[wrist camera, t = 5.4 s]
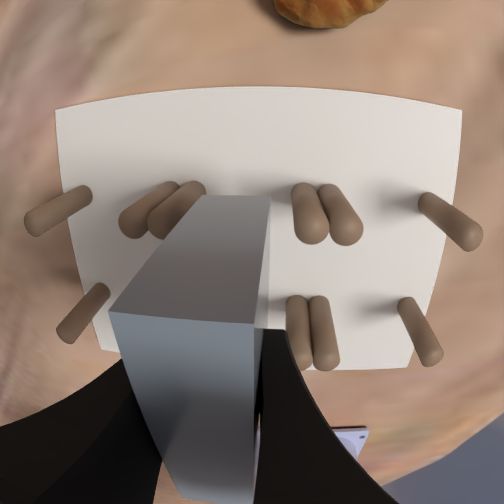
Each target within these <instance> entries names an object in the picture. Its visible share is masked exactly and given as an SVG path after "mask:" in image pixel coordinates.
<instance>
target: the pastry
mask: <svg viewBox="0 0 504 504" xmlns="http://www.w3.org/2000/svg"><path fill="white" fill-rule="evenodd" d="M386 1H388V0H273V2H274V6H275V9H276V11H277V12H278V13H279V14H280V15H281V16H283V17H285V18H286V19H288V20H289V21H291V22H293V23H296V24H298V25H302V26H307V27H311V28H345V27H347V26H348V25H349V24H351V23H352V22H354V21H355V20H357V19H358V18H359V17H361V16H363V15H366V14H368V13H372V12H374V11H376V10H377V9H378V8H380V7H381V6H382V5H384V3H385V2H386Z"/></svg>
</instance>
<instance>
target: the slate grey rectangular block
mask: <svg viewBox="0 0 504 504" xmlns="http://www.w3.org/2000/svg"><path fill="white" fill-rule="evenodd" d="M270 214H271V196H240V195H202V196H201V197H200V198H199V199H198V200H197V201H196V202H195V204H194V205H193V206H192V207H191V208H190V209H189V210H188V212H187V213H186V214H185V215H184V216H183V217H182V219H181V220H180V221H179V222H178V223H177V225H176V226H175V227H174V228H173V229H172V231H171V232H170V233H169V234H168V235H167V237H166V238H165V239H164V240H163V241H162V243H161V244H160V245H159V246H158V247H157V249H156V250H155V251H154V252H153V254H152V255H151V256H150V257H149V259H148V260H147V261H146V262H145V264H144V265H143V266H142V267H141V269H140V270H139V271H138V272H137V274H136V275H135V276H134V277H133V279H132V280H131V281H130V283H129V284H128V285H127V286H126V288H125V289H124V290H123V292H122V293H121V294H120V295H119V297H118V298H117V299H116V301H115V302H114V303H113V305H112V306H111V307H110V309H109V310H108V314H109V318H110V321H111V325H112V328H113V331H114V335H115V338H116V341H117V344H118V348H119V351H120V354H121V357H122V360H123V363H124V366H125V369H126V372H127V374H128V377H129V380H130V383H131V386H132V388H133V391H134V394H135V396H136V399H137V402H138V404H139V407H140V409H141V412H142V414H143V417H144V419H145V421H146V424H147V426H148V429H149V431H150V433H151V436H152V438H153V440H154V442H155V445H156V447H157V449H158V451H159V453H160V456H161V458H162V460H163V462H164V464H165V466H166V468H167V470H168V472H169V474H170V476H171V478H172V480H173V482H174V484H175V486H176V488H177V490H178V492H179V494H180V495H181V497H182V498H186V499H192V500H198V501H204V502H211V503H219V504H253V500H254V492H255V483H256V475H257V466H258V455H259V445H260V385H261V348H262V340H263V332H264V328H265V329H268V298H269V260H270Z"/></svg>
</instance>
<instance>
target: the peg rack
mask: <svg viewBox="0 0 504 504" xmlns="http://www.w3.org/2000/svg"><path fill="white" fill-rule="evenodd" d="M55 114H56V131H57V144H58V155H59V164H60V173H61V181H62V188H63V194H62V195H60V196H58V197H56V198H54V199H52V200H50V201H48V202H46V203H44V204H42V205H40V206H38V207H36V208H34V209H32V210H30V211H29V212H27V213H26V215H25V217H24V224H25V227H26V230H27V231H28V233H29V234H30V235H32V236H34V237H38V236H40V235H41V234H43V233H44V232H46V231H47V230H49V229H50V228H52V227H54V226H55V225H57V224H58V223H60V222H61V221H63V220H65V219H66V218H67V219H68V225H69V230H70V235H71V240H72V245H73V250H74V254H75V259H76V263H77V267H78V271H79V275H80V279H81V283H82V287H83V291H84V294H85V296H84V297H83V298H82V299H81V300H80V302H79V303H78V304H77V305H76V306H75V307H74V308H73V309H72V311H71V312H70V313H69V314H68V315H67V316H66V317H65V318H64V320H63V321H62V322H61V323H60V324H59V325H58V327H57V328H56V331H57V334H58V336H59V337H60V339H61V340H63V341H64V342H65V343H68V344H73V343H74V342H75V341H76V339H77V338H78V337H79V335H80V334H81V333H82V332H83V330H84V329H85V328H86V326H87V325H88V324H89V322H90V321H91V320H92V322H93V325H94V328H95V331H96V334H97V338H98V341H99V344H100V346H101V349H102V350H108V351H113V352H119V353H120V351H119V348H118V344H117V341H116V338H115V335H114V331H113V328H112V325H111V321H110V318H109V314H108V310H109V309H110V307H111V306H112V305H113V303H114V302H115V301H116V299H117V298H118V297H119V295H120V294H121V293H122V292H123V290H124V289H125V288H126V286H127V285H128V284H129V283H130V281H131V280H132V279H133V277H134V276H135V275H136V274H137V272H138V271H139V270H140V269H141V267H142V266H143V265H144V264H145V262H146V261H147V260H148V259H149V257H150V256H151V255H152V254H153V252H154V251H155V250H156V249H157V247H158V246H159V245H160V244H161V243H162V241H163V240H164V239H165V238H166V237H167V235H168V234H169V233H170V232H171V231H172V229H173V228H174V227H175V226H176V225H177V223H178V222H179V221H180V220H181V219H182V217H183V216H184V215H185V214H186V213H187V212H188V210H189V209H190V208H191V207H192V206H193V205H194V204H195V202H196V201H197V200H198V199H199V198H200V197H201V196H202V195H240V196H271V214H270V260H269V298H268V329H284V330H285V331H286V332H288V338H289V342H290V346H291V349H292V352H293V355H294V358H295V361H296V363H297V366H298V368H299V370H300V371H302V370H320V371H330V370H361V369H387V368H404V367H407V366H408V363H409V361H410V358H411V355H412V353H413V350H414V347H415V350H416V352H417V354H418V356H419V359H420V361H421V363H422V365H423V366H425V367H430V366H434V365H436V364H437V363H438V362H440V360H441V359H442V358H443V355H444V352H443V349H442V348H441V346H440V344H439V342H438V340H437V338H436V336H435V334H434V333H433V331H432V329H431V327H430V325H429V324H428V322H427V320H426V318H425V315H426V312H427V308H428V305H429V302H430V298H431V295H432V292H433V288H434V284H435V281H436V277H437V273H438V269H439V265H440V261H441V257H442V253H443V249H444V244H445V240H446V235H447V236H449V237H450V238H451V239H452V240H453V241H454V242H455V243H456V244H457V245H458V246H460V247H461V248H462V249H463V250H464V251H467V252H470V251H473V250H475V249H476V248H477V247H478V246H479V245H480V244H481V242H482V239H483V230H482V227H481V226H480V225H479V224H478V223H477V222H475V221H474V220H472V219H471V218H469V217H468V216H467V215H465V214H464V213H462V212H461V211H459V210H458V209H457V208H455V207H454V206H452V203H453V197H454V190H455V183H456V176H457V168H458V159H459V150H460V138H461V124H462V110H458V109H454V108H449V107H445V106H440V105H436V104H431V103H426V102H421V101H415V100H410V99H404V98H398V97H392V96H385V95H378V94H370V93H362V92H353V91H344V90H332V89H319V88H302V87H268V86H248V87H215V88H197V89H184V90H173V91H163V92H154V93H146V94H138V95H131V96H124V97H118V98H112V99H106V100H101V101H95V102H90V103H85V104H80V105H76V106H71V107H66V108H62V109H58V110H55Z"/></svg>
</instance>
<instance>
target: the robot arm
mask: <svg viewBox="0 0 504 504" xmlns="http://www.w3.org/2000/svg"><path fill="white" fill-rule="evenodd" d="M368 435H369V429H368V428H349V429H332V428H331V427H330V425H329V424H328V422H327V421H326V419H325V418H324V416H323V415H322V413H321V411H320V410H319V408H318V406H317V404H316V403H315V401H314V399H313V397H312V395H311V393H310V392H309V390H308V388H307V386H306V383H305V381H304V379H303V377H302V375H301V372H300V370H299V368H298V366H297V363H296V361H295V358H294V355H293V352H292V349H291V346H290V342H289V338H288V332H286V331H285V330H284V329H265V328H264V332H263V340H262V348H261V385H260V448H259V457H258V466H257V475H256V483H255V492H254V500H253V504H399V503H397V501H395V500H394V499H393V498H392V497H391V496H390V495H388V493H386V492H385V491H384V490H383V489H382V488H381V487H380V486H379V485H378V484H377V483H376V482H375V481H374V480H373V479H372V478H371V477H370V476H369V475H368V473H367V472H366V471H365V470H364V469H363V468H362V467H361V465H360V464H359V463H358V458H357V457H358V455H359V453H360V451H361V449H362V447H363V445H364V443H365V441H366V439H367V437H368ZM161 463H162V458H161V456H160V453H159V451H158V449H157V447H156V445H155V442H154V440H153V438H152V436H151V433H150V431H149V429H148V426H147V424H146V421H145V419H144V417H143V414H142V412H141V409H140V407H139V404H138V402H137V399H136V396H135V394H134V391H133V388H132V386H131V383H130V380H129V377H128V374H127V372H126V369H125V366H124V363H123V360H122V359H120V360H119V361H118V362H117V363H115V364H114V365H113V366H111V367H110V368H109V369H108V370H106V371H105V372H104V373H102V374H101V375H100V376H99V377H97V378H96V379H94V380H93V381H92V382H90V383H89V384H87V385H86V386H84V387H83V388H81V389H80V390H78V391H76V392H75V393H73V394H72V395H70V396H68V397H67V398H65V399H63V400H61V401H59V402H57V403H55V404H53V405H51V406H49V407H47V408H45V409H43V410H42V411H40V412H37V413H35V414H33V415H30V416H28V417H26V418H23V419H21V420H18V421H15V422H12V423H10V424H7V425H4V426H0V504H153V500H154V495H155V490H156V485H157V480H158V476H159V471H160V467H161Z"/></svg>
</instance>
